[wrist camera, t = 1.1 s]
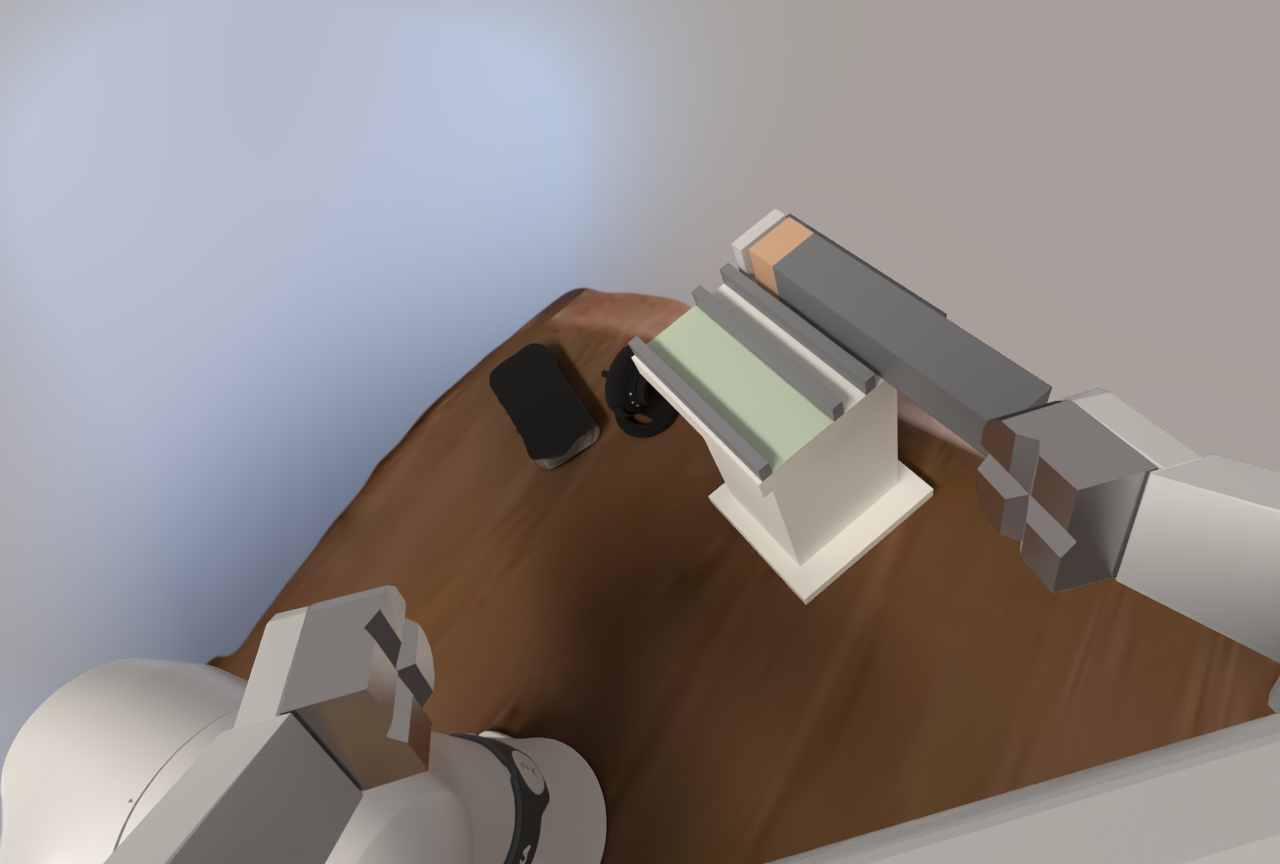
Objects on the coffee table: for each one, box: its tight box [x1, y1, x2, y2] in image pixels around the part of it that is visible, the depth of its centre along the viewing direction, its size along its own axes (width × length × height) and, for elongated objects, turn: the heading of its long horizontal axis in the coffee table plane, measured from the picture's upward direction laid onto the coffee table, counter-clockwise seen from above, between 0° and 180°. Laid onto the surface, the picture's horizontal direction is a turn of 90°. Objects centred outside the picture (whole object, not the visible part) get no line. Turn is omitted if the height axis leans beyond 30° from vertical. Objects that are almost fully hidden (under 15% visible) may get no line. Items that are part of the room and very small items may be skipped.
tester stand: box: [628, 209, 947, 605], centre depth 56 cm, size 16×14×29 cm
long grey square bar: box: [749, 217, 1052, 457], centre depth 43 cm, size 4×20×4 cm, turn 35°
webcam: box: [601, 346, 678, 438], centre depth 76 cm, size 8×8×10 cm
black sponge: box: [490, 344, 600, 470], centre depth 83 cm, size 16×8×4 cm, turn 29°
